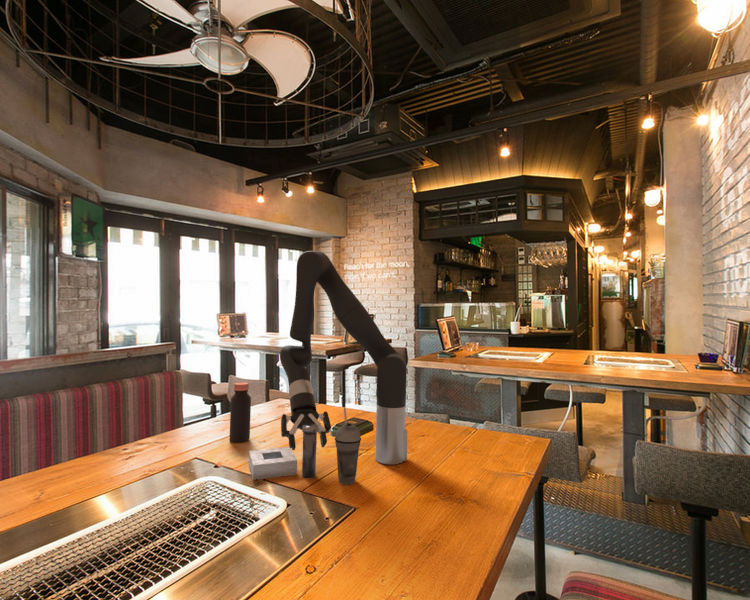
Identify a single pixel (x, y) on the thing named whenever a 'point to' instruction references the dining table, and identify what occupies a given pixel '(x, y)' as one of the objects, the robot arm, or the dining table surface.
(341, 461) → the beverage cup
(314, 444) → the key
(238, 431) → the bottle
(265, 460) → the block
